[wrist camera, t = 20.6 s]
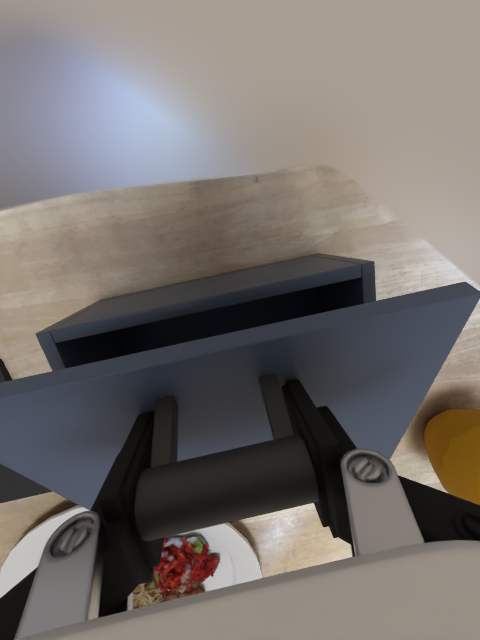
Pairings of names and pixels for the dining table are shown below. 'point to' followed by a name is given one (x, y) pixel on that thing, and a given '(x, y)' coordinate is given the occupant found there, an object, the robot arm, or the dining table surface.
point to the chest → (208, 308)
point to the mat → (7, 482)
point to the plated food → (175, 565)
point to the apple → (456, 451)
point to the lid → (232, 409)
